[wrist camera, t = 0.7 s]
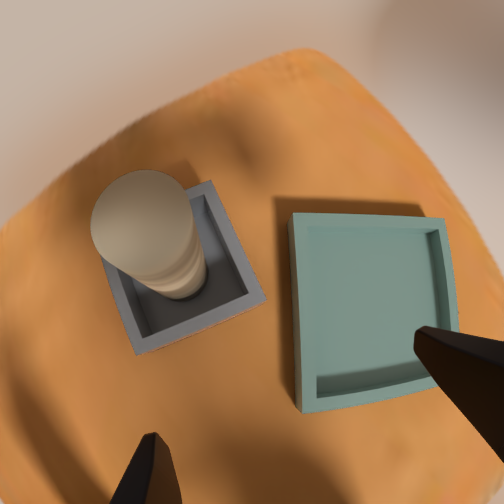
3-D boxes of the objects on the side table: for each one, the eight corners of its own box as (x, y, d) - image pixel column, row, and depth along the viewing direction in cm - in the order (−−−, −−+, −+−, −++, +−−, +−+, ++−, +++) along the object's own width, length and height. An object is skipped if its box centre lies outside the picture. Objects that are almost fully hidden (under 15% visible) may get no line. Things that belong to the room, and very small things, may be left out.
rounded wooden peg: (208, 301, 21) (189, 269, 10) (152, 301, 21) (85, 269, 10) (208, 245, 22) (193, 167, 11) (154, 246, 22) (98, 173, 11)
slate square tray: (259, 305, 22) (267, 299, 18) (151, 351, 20) (136, 355, 17) (213, 203, 24) (210, 179, 20) (113, 246, 22) (93, 230, 18)
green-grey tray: (444, 377, 21) (459, 379, 19) (295, 406, 20) (302, 413, 18) (430, 226, 25) (444, 218, 23) (286, 223, 24) (292, 212, 22)
